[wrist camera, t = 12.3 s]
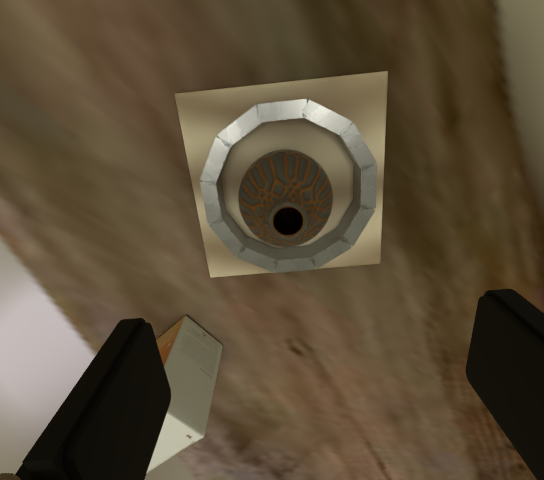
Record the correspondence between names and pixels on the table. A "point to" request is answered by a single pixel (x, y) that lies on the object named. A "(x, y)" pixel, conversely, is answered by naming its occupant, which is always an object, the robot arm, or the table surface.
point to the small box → (186, 386)
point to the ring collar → (327, 244)
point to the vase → (285, 198)
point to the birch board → (294, 136)
